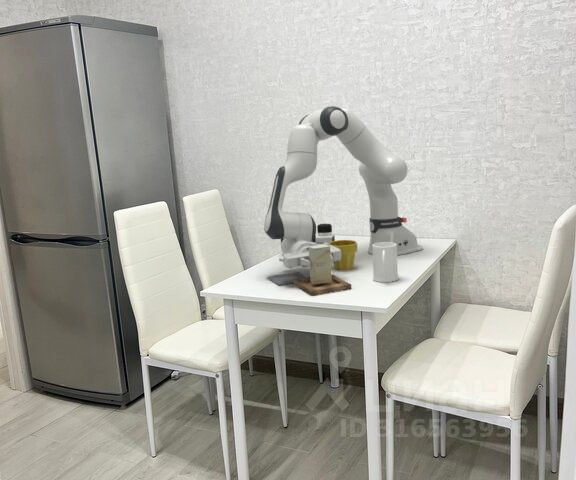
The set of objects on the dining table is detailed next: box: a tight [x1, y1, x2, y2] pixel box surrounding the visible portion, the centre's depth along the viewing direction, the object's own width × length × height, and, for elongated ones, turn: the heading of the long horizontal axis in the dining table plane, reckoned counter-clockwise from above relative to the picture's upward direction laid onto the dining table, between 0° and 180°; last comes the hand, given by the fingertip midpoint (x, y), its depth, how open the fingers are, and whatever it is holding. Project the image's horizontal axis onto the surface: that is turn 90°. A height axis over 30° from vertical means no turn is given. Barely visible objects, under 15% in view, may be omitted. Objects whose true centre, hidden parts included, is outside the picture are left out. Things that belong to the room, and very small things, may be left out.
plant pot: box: [329, 239, 358, 271], centre depth 212 cm, size 10×10×10 cm
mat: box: [267, 271, 309, 287], centre depth 203 cm, size 12×12×1 cm
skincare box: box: [309, 244, 333, 284], centre depth 190 cm, size 6×4×12 cm
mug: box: [372, 242, 399, 283], centre depth 192 cm, size 12×8×12 cm
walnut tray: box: [292, 274, 352, 297], centre depth 191 cm, size 14×16×2 cm
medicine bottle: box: [316, 222, 336, 245], centre depth 242 cm, size 7×7×12 cm
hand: (320, 261), depth 189 cm, fingers closed on skincare box, 6 cm apart
